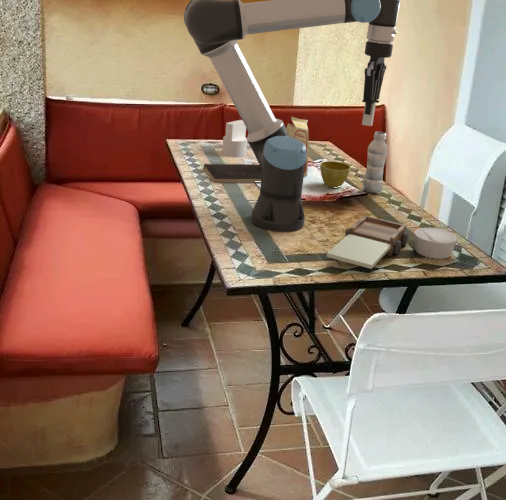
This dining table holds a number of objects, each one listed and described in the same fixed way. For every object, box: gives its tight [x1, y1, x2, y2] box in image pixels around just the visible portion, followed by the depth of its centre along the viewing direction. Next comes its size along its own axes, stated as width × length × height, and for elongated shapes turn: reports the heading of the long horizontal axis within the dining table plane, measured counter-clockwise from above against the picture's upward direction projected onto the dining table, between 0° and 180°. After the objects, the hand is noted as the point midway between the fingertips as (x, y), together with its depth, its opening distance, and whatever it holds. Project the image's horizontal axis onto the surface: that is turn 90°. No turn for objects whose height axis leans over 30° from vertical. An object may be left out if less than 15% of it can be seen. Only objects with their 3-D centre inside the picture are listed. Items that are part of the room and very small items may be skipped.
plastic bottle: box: [361, 131, 389, 194], centre depth 230 cm, size 6×7×20 cm
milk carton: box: [286, 116, 310, 177], centre depth 243 cm, size 9×9×20 cm
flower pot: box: [319, 160, 352, 188], centre depth 235 cm, size 10×10×7 cm
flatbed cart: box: [344, 214, 409, 257], centre depth 190 cm, size 13×14×5 cm
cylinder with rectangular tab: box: [221, 119, 248, 158], centre depth 260 cm, size 9×9×12 cm
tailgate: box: [326, 234, 391, 270], centre depth 178 cm, size 1×12×16 cm
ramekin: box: [413, 227, 458, 260], centre depth 188 cm, size 11×11×5 cm
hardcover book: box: [203, 163, 262, 184], centre depth 238 cm, size 16×23×2 cm
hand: (367, 124), depth 205 cm, fingers closed
